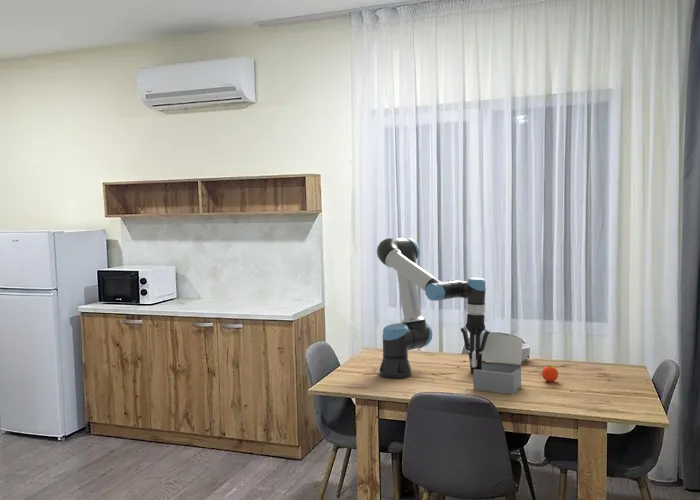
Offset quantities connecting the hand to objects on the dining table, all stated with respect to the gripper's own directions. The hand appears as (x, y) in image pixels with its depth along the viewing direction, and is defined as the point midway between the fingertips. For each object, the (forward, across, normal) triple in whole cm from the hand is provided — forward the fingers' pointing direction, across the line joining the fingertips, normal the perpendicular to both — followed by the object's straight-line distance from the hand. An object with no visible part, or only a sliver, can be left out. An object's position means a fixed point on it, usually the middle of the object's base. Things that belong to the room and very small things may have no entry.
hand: (474, 366), depth 272 cm
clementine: (+8, +29, +21) cm, 36 cm away
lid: (-7, +10, +7) cm, 14 cm away
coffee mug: (+9, -5, +23) cm, 25 cm away
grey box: (+8, +10, 0) cm, 13 cm away
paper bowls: (+9, +5, +54) cm, 55 cm away
